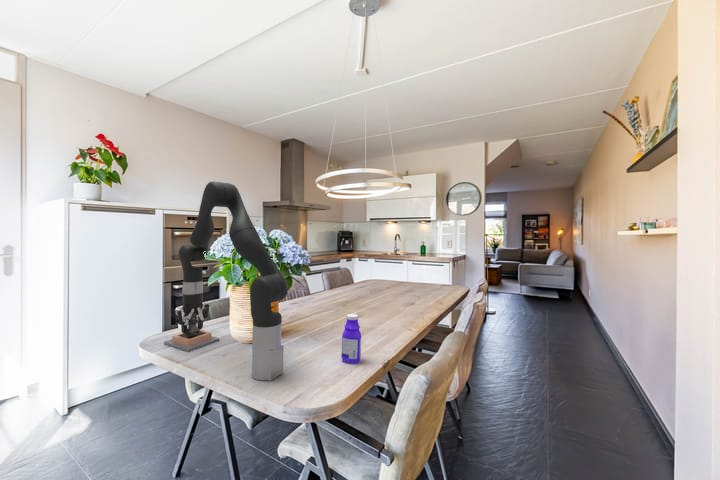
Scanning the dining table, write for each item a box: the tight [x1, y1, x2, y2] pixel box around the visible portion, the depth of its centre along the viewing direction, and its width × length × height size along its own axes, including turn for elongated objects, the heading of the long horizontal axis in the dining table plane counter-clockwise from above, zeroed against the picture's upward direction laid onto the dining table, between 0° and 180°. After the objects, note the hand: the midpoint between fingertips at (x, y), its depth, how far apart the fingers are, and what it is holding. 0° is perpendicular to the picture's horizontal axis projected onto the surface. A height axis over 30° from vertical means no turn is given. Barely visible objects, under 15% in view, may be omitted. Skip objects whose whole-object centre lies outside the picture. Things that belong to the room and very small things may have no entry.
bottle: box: [340, 313, 362, 364], centre depth 109 cm, size 7×6×17 cm
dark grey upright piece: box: [186, 314, 200, 339], centre depth 122 cm, size 6×6×12 cm
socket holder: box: [163, 329, 221, 353], centre depth 123 cm, size 16×14×4 cm
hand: (192, 331), depth 122 cm, fingers closed on dark grey upright piece, 6 cm apart
